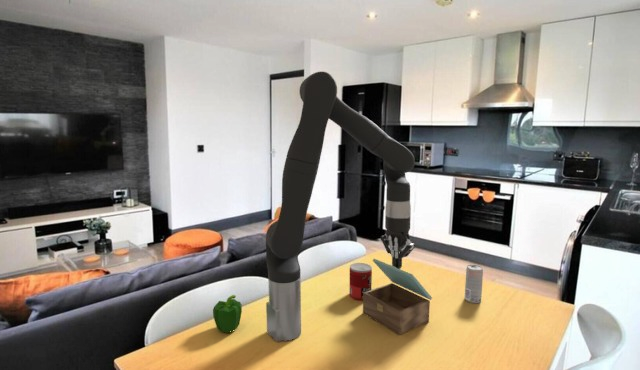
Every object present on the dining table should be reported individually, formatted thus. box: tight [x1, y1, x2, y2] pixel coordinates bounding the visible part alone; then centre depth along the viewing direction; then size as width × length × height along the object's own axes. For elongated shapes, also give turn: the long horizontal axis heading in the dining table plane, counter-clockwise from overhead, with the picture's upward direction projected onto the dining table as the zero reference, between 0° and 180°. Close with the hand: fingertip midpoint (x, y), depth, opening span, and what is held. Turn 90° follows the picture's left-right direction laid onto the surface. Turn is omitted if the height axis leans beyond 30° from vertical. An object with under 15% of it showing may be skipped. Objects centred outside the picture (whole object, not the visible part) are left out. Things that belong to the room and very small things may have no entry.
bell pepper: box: [212, 294, 243, 333], centre depth 110 cm, size 8×8×10 cm
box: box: [362, 282, 431, 336], centre depth 116 cm, size 13×16×7 cm
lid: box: [372, 258, 433, 301], centre depth 116 cm, size 14×16×1 cm
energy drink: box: [464, 264, 484, 304], centre depth 128 cm, size 5×5×12 cm
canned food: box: [349, 262, 373, 301], centre depth 131 cm, size 8×8×11 cm
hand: (396, 268), depth 115 cm, fingers closed
